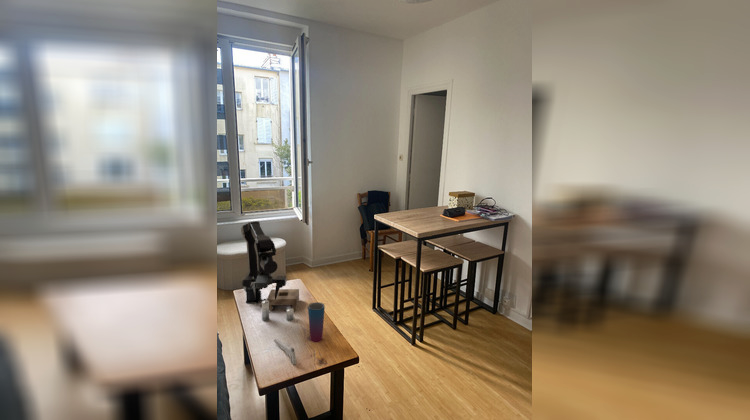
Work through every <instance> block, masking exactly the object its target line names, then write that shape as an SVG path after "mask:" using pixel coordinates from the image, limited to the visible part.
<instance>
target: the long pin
mask: <svg viewBox="0 0 750 420" xmlns="http://www.w3.org/2000/svg"><path fill="white" fill-rule="evenodd" d="M261 321H263V322H269V321H270V311H269V301H268V300H267V299H263V300H262V301H261Z"/></svg>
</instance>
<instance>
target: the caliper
mask: <svg viewBox="0 0 750 420" xmlns="http://www.w3.org/2000/svg"><path fill="white" fill-rule="evenodd" d="M273 341H274V343H275V344H276V345H277V346H278V347H280V348H281V349H282V350H283V351H284V352H285V353H286V355H287V356H289V360H290V364H292V365H293V366H294V365H297V362H296V361H297V359H296V357H297V356H296V351H295V348H294V347H293V346H292V347H290V346H287V345H286V344H284V343H283V342H282V341H281V340H280V339H278V338H275V339H273Z"/></svg>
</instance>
